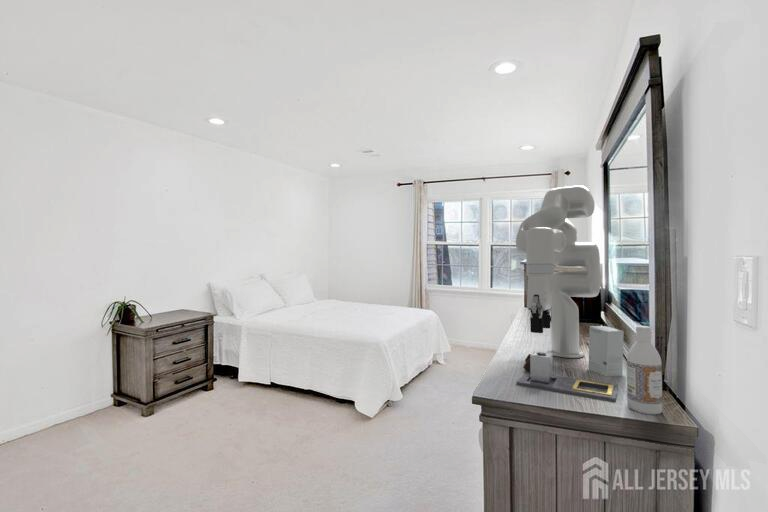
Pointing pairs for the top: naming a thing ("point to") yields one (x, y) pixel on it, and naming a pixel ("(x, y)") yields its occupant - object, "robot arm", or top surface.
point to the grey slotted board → (574, 387)
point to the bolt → (527, 364)
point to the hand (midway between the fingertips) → (540, 330)
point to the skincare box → (606, 350)
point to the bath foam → (644, 374)
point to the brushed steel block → (541, 367)
